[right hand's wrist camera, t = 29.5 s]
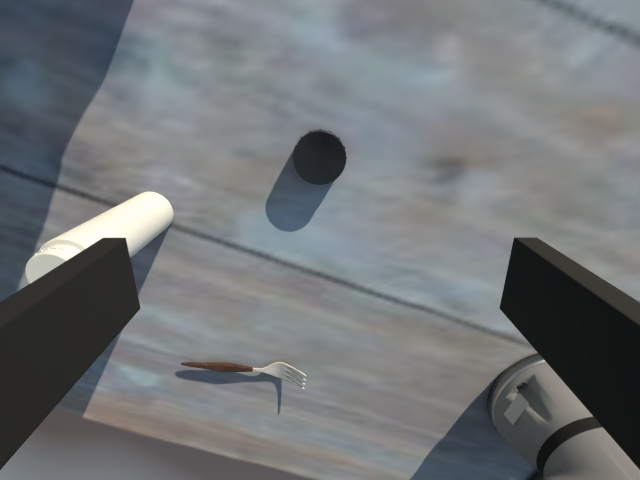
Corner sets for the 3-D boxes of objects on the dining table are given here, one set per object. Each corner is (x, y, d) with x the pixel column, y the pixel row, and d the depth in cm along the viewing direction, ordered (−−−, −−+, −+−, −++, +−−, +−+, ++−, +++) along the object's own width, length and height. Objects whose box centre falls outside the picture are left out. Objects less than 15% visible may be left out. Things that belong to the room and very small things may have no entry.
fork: (182, 352, 46) (176, 363, 44) (307, 363, 47) (306, 374, 45) (182, 368, 47) (177, 380, 45) (305, 379, 47) (304, 390, 46)
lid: (348, 176, 38) (350, 180, 36) (299, 185, 38) (298, 189, 37) (340, 124, 36) (342, 126, 34) (289, 134, 37) (287, 136, 35)
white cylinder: (124, 198, 39) (5, 257, 24) (162, 186, 38) (64, 240, 24) (143, 235, 40) (41, 312, 26) (180, 224, 40) (98, 297, 25)
